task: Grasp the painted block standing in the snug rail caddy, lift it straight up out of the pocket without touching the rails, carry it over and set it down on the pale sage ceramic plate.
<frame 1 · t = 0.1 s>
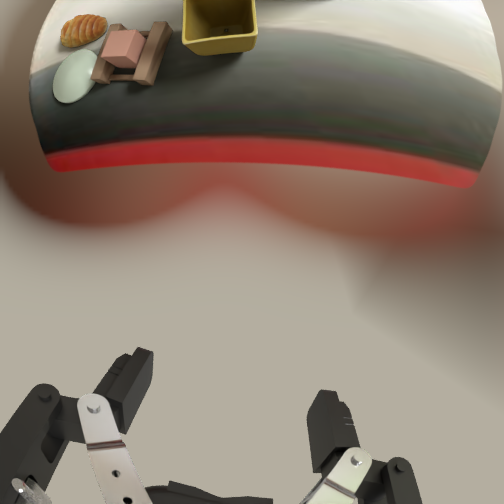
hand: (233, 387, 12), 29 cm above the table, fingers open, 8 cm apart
part: (134, 56, 33), resting in caddy
caddy: (134, 56, 33), on the table
pastry: (86, 32, 31), on the table
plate: (76, 76, 33), on the table
flower pot: (227, 40, 32), on the table
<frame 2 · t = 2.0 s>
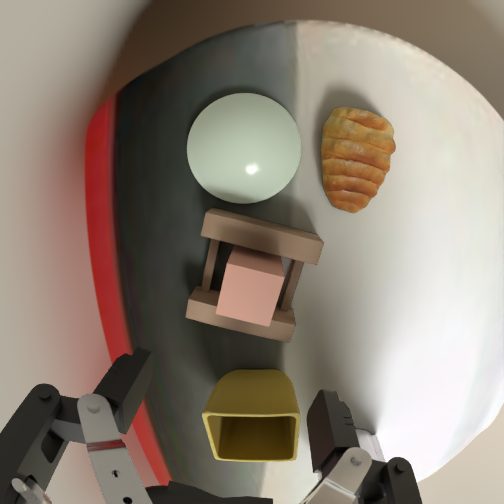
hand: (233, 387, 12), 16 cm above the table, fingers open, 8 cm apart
part: (252, 270, 27), resting in caddy
caddy: (252, 270, 27), on the table
pastry: (353, 154, 24), on the table
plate: (244, 147, 24), on the table
flower pot: (256, 383, 32), on the table
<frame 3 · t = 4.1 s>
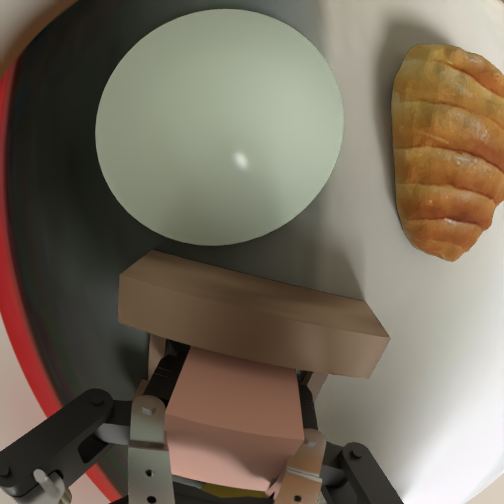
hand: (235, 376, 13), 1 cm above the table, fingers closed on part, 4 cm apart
part: (237, 365, 14), resting in caddy, touching gripper
caddy: (236, 365, 14), on the table
pastry: (442, 142, 11), on the table
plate: (213, 119, 10), on the table
flower pot: (249, 483, 18), on the table
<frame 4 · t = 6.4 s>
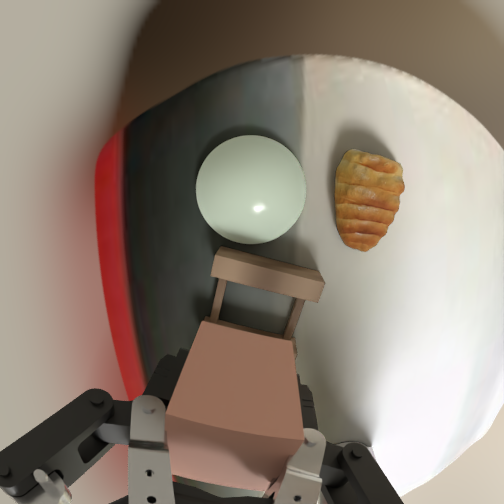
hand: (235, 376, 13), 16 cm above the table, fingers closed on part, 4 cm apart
part: (237, 366, 14), point 15 cm above the table, touching gripper
caddy: (257, 303, 29), on the table
pastry: (364, 193, 26), on the table
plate: (251, 189, 26), on the table
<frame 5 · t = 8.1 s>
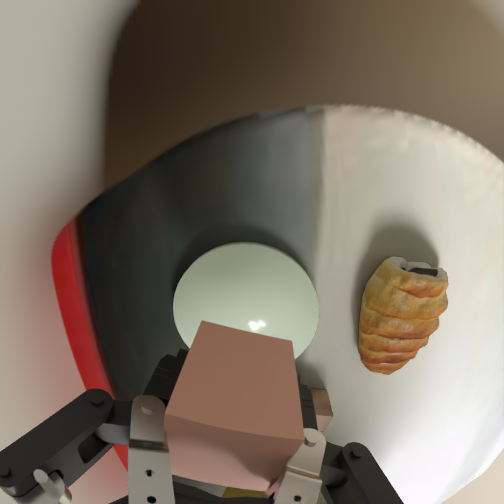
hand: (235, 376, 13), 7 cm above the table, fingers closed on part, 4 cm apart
part: (237, 365, 14), point 6 cm above the table, touching gripper
caddy: (255, 418, 23), on the table
pastry: (395, 304, 20), on the table
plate: (246, 311, 20), on the table
flower pot: (259, 481, 27), on the table
when the fingers open (3 cm above the table, at t = 9.2 s): part stays where it is, resting on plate.
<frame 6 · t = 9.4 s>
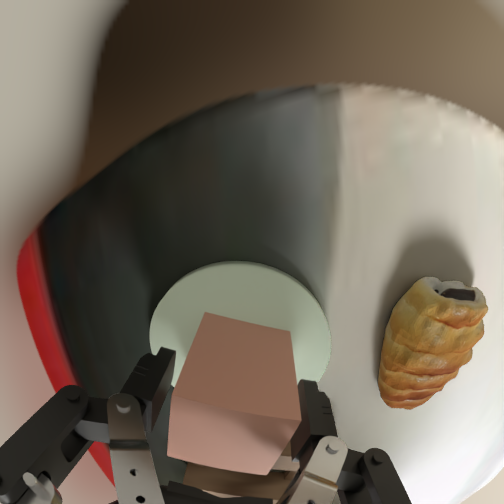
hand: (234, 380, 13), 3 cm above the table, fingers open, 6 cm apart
part: (238, 355, 15), point 1 cm above the table, touching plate
caddy: (253, 453, 19), on the table
pastry: (422, 330, 15), on the table
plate: (239, 344, 15), on the table
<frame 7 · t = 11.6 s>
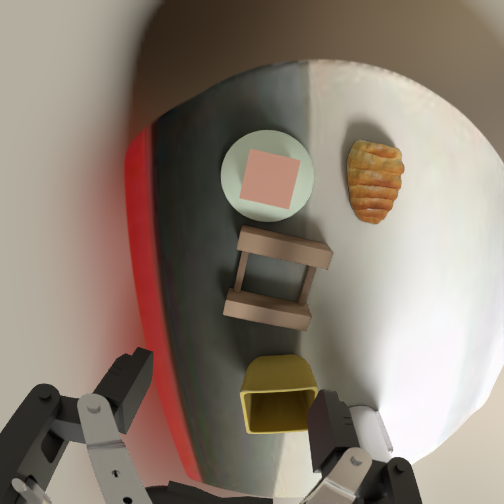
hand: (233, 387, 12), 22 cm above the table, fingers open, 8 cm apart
part: (268, 176, 29), point 1 cm above the table, touching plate
caddy: (275, 274, 34), on the table
pastry: (371, 175, 30), on the table
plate: (267, 175, 30), on the table
flower pot: (277, 366, 38), on the table
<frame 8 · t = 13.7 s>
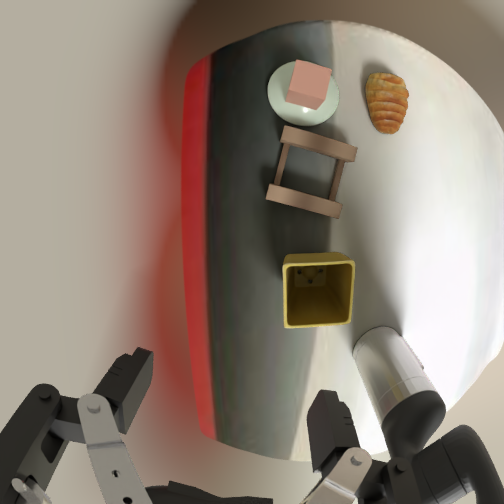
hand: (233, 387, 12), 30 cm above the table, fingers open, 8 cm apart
part: (304, 92, 34), point 1 cm above the table, touching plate
caddy: (309, 171, 38), on the table
pastry: (384, 101, 35), on the table
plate: (303, 93, 35), on the table
flower pot: (308, 270, 42), on the table
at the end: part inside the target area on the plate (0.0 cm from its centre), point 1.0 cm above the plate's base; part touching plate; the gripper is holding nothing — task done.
